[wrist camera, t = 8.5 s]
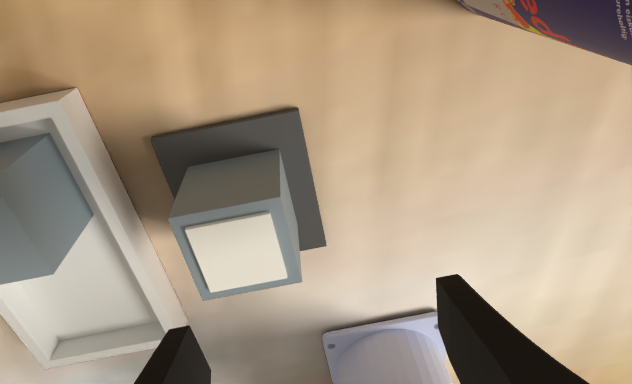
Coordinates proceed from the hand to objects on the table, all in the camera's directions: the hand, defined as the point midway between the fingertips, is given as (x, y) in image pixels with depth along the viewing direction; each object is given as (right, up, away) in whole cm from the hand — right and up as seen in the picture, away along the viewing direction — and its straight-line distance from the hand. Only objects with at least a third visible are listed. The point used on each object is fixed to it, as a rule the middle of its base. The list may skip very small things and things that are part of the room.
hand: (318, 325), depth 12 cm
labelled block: (-4, +4, +9) cm, 10 cm away
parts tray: (-13, +1, +10) cm, 17 cm away
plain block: (-14, +4, +8) cm, 16 cm away
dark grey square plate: (-4, +4, +10) cm, 11 cm away
